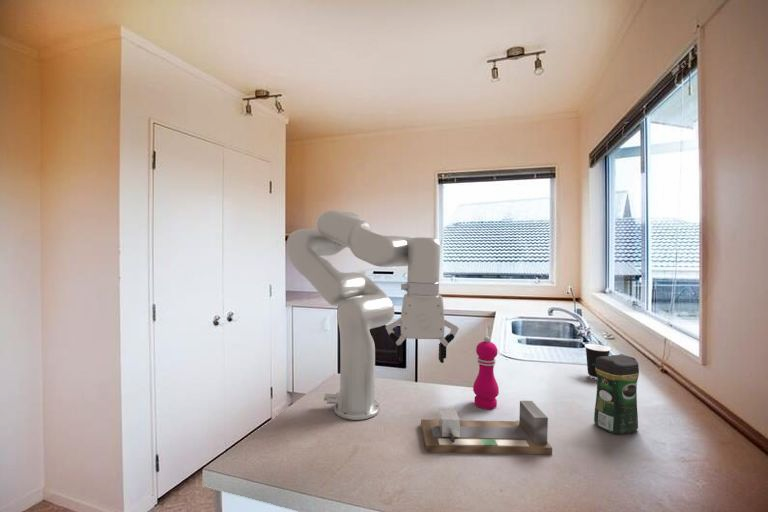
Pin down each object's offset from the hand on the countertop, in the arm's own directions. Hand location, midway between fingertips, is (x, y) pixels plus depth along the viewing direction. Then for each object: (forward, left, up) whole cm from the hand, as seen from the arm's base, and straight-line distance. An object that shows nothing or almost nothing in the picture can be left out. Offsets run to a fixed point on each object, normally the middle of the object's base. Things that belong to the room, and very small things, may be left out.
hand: (420, 360), depth 87 cm
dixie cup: (+67, +43, -19) cm, 81 cm away
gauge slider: (+7, -2, -17) cm, 18 cm away
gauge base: (+15, 0, -18) cm, 24 cm away
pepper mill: (+21, +19, -19) cm, 34 cm away
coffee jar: (+51, +7, -19) cm, 55 cm away
